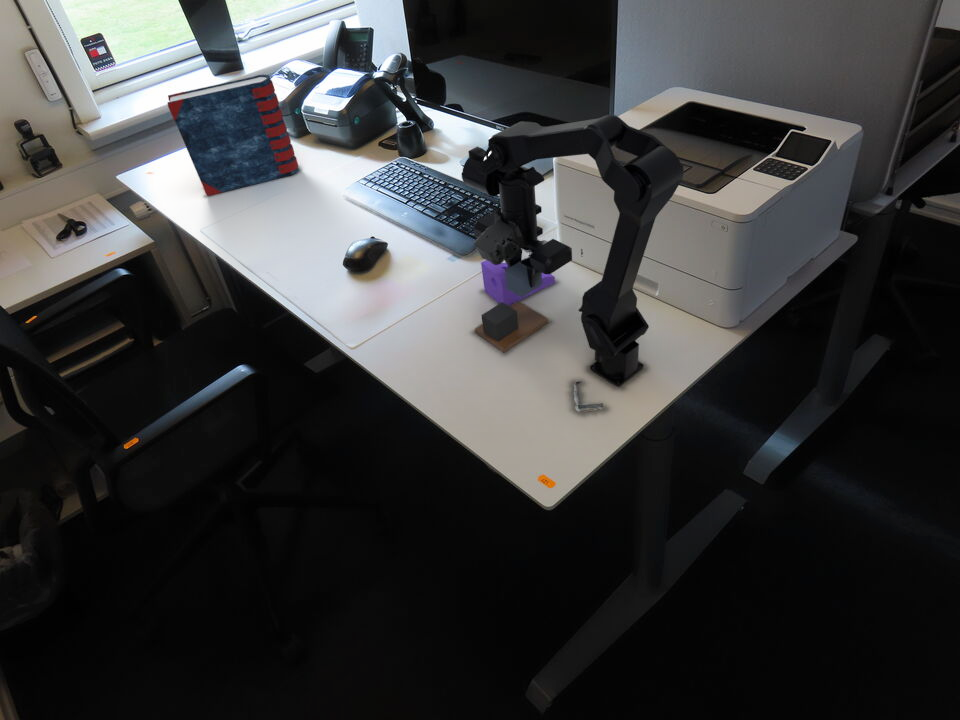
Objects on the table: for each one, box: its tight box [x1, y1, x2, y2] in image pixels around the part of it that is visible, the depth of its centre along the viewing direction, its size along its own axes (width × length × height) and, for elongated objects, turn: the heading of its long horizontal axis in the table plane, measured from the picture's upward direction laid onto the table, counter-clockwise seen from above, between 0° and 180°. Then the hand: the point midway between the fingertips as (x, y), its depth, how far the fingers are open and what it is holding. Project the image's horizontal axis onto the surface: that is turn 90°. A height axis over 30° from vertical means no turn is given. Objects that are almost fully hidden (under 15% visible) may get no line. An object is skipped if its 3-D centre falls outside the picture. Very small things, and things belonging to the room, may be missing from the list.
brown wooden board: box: [474, 300, 549, 353], centre depth 122 cm, size 8×11×1 cm
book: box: [167, 74, 300, 197], centre depth 172 cm, size 25×7×25 cm, turn 108°
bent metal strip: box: [572, 379, 604, 413], centre depth 107 cm, size 7×1×5 cm
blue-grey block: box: [505, 257, 542, 297], centre depth 118 cm, size 4×5×4 cm
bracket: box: [480, 259, 556, 307], centre depth 129 cm, size 12×7×7 cm, turn 123°
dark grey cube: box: [480, 302, 519, 342], centre depth 119 cm, size 4×5×4 cm
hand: (524, 281), depth 119 cm, fingers closed on blue-grey block, 4 cm apart
